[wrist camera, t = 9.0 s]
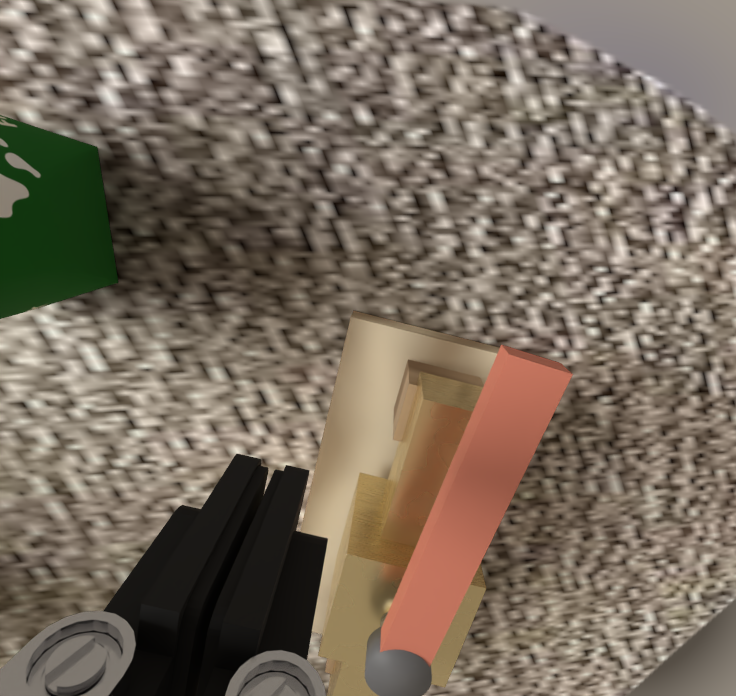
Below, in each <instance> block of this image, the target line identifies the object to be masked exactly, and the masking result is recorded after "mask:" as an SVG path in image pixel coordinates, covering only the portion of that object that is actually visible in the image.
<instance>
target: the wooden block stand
mask: <svg viewBox="0 0 736 696" xmlns="http://www.w3.org/2000/svg"><path fill="white" fill-rule="evenodd" d="M417 384H418V386H417V390H416V393H415V396H414V400H413V403H412V406H411V410H410V413H409V416H408V420H407V423H406V426H405V430H404V433H403V437H402V440H401V442H399V444H398V447H397V450H396V454H395V457H394V461H393V464H392V467H391V471H390V474H389V477H388V479H385V478H381V477H377V476H373V475H369V474H365V473H361V472H360V473H359V477H358V480H357V484H356V488H355V491H354V495H353V499H352V502H351V506H350V510H349V513H348V517H347V521H346V524H345V528H344V532H343V535H342V539H341V543H340V546H339V550H338V554H337V557H336V563H335V568H334V573H333V579H332V584H331V590H330V595H329V600H328V606H327V611H326V617H325V622H324V627H323V633H322V638H321V644H320V649H319V654H318V656H321V657H325V658H329V659H333V660H335V664H334V667H333V670H332V674H330V681H329V688H328V694H327V696H379V695H377V694H376V693H374V692H373V691H372V690H371V689H370V688H369V686H368V685H367V683H366V680H365V663H366V650H367V641H368V638H369V636H370V635H371V634H372V633H373V632H374V631H375V630H376V629H378V628H379V627H382V626H383V623H384V621H385V618H386V616H387V614H388V611H389V609H390V607H391V604H392V602H393V600H394V597H395V595H396V592H397V590H398V588H399V585H400V583H401V581H402V578H403V576H404V574H405V571H406V569H407V566H408V564H409V562H410V559H411V557H412V555H413V552H414V550H415V548H416V545H417V543H418V540H419V538H420V536H421V533H422V531H423V529H424V526H425V524H426V522H427V519H428V517H429V514H430V512H431V510H432V507H433V505H434V503H435V500H436V498H437V496H438V493H439V491H440V488H441V486H442V484H443V481H444V479H445V477H446V474H447V472H448V470H449V467H450V465H451V462H452V460H453V458H454V455H455V453H456V451H457V448H458V446H459V444H460V441H461V439H462V436H463V434H464V432H465V429H466V427H467V425H468V422H469V420H470V418H471V415H472V413H473V410H474V408H475V406H476V403H477V401H478V399H479V396H480V394H481V392H482V389H483V387H480V386H476V385H472V384H468V383H464V382H460V381H456V380H452V379H448V378H444V377H440V376H436V375H432V374H428V373H424V372H420V373H419V377H418V380H417ZM485 591H486V585H485V581H484V576H483V572H482V568H481V563H480V565H479V567H478V569H477V571H476V573H475V575H474V577H473V580H472V582H471V584H470V586H469V588H468V590H467V592H466V594H465V596H464V598H463V600H462V602H461V604H460V606H459V608H458V610H457V612H456V614H455V616H454V618H453V620H452V622H451V625H450V627H449V629H448V631H447V633H446V635H445V637H444V639H443V641H442V643H441V645H440V647H439V649H438V651H437V653H436V655H435V657H434V659H433V661H432V663H431V672H432V682H431V684H433V685H437V686H441V687H445V686H446V684H447V682H448V679H449V677H450V674H451V672H452V670H453V667H454V665H455V662H456V660H457V658H458V655H459V653H460V650H461V648H462V646H463V643H464V641H465V638H466V636H467V634H468V631H469V629H470V627H471V624H472V622H473V619H474V617H475V615H476V612H477V610H478V607H479V605H480V603H481V600H482V598H483V595H484V593H485Z"/></svg>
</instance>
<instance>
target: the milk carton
mask: <svg viewBox="0 0 736 696" xmlns="http://www.w3.org/2000/svg"><path fill="white" fill-rule="evenodd" d="M116 283H118V277H117V271H116V264H115V258H114V251H113V245H112V238H111V232H110V226H109V219H108V213H107V206H106V200H105V194H104V187H103V181H102V174H101V168H100V161H99V155H98V149H97V147H96V146H93V145H89V144H86V143H83V142H80V141H77V140H74V139H71V138H68V137H65V136H62V135H59V134H56V133H53V132H50V131H47V130H44V129H41V128H38V127H35V126H32V125H28V124H25V123H22V122H19V121H16V120H13V119H10V118H7V117H4V116H1V115H0V319H1V318H5V317H9V316H12V315H16V314H20V313H23V312H27V311H30V310H33V309H37V308H40V307H43V306H46V305H49V304H52V303H56V302H59V301H62V300H65V299H68V298H71V297H74V296H78V295H81V294H84V293H87V292H90V291H93V290H96V289H100V288H103V287H106V286H109V285H112V284H116Z"/></svg>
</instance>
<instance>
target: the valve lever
mask: <svg viewBox="0 0 736 696" xmlns="http://www.w3.org/2000/svg"><path fill="white" fill-rule="evenodd" d="M572 375H573V374H572V373H571V372H570V371H568V370H567V369H566V368H565V367H564V366H563V365H562V364H561V363H558V362H555V361H552V360H549V359H545V358H542V357H539V356H536V355H533V354H530V353H527V352H523V351H520V350H517V349H514V348H511V347H508V346H504V345H501V347H500V349H499V351H498V354H497V356H496V358H495V361H494V363H493V365H492V368H491V370H490V373H489V375H488V377H487V380H486V382H485V384H484V387H483V389H482V392H481V394H480V396H479V399H478V401H477V403H476V406H475V408H474V410H473V413H472V415H471V418H470V420H469V422H468V425H467V427H466V429H465V432H464V434H463V436H462V439H461V441H460V444H459V446H458V448H457V451H456V453H455V455H454V458H453V460H452V462H451V465H450V467H449V470H448V472H447V474H446V477H445V479H444V481H443V484H442V486H441V488H440V491H439V493H438V496H437V498H436V500H435V503H434V505H433V507H432V510H431V512H430V514H429V517H428V519H427V522H426V524H425V526H424V529H423V531H422V533H421V536H420V538H419V540H418V543H417V545H416V548H415V550H414V552H413V555H412V557H411V559H410V562H409V564H408V566H407V569H406V571H405V574H404V576H403V578H402V581H401V583H400V585H399V588H398V590H397V592H396V595H395V597H394V600H393V602H392V604H391V607H390V609H389V611H388V614H387V616H386V618H385V621H384V623H383V626H382V627H379V628H378V629H376V630H375V631H374V632H373V633H372V634H371V635H370V636H369V638H368V641H367V650H366V663H365V680H366V683H367V685H368V686H369V688H370V689H371V690H372V691H373V692H374V693H376V694H377V695H379V696H422V695H423V694H424V693H426V692H427V690H428V689H429V687H430V685H431V682H432V672H431V663H432V661H433V659H434V657H435V655H436V653H437V651H438V649H439V647H440V645H441V643H442V641H443V639H444V637H445V635H446V633H447V631H448V629H449V627H450V625H451V622H452V620H453V618H454V616H455V614H456V612H457V610H458V608H459V606H460V604H461V602H462V600H463V598H464V596H465V594H466V592H467V590H468V588H469V586H470V584H471V582H472V580H473V577H474V575H475V573H476V571H477V569H478V567H479V565H480V563H481V561H482V559H483V557H484V555H485V553H486V551H487V549H488V547H489V545H490V543H491V541H492V539H493V537H494V535H495V532H496V530H497V528H498V526H499V524H500V522H501V520H502V518H503V516H504V514H505V512H506V510H507V508H508V506H509V504H510V502H511V500H512V498H513V496H514V494H515V492H516V489H517V487H518V485H519V483H520V481H521V479H522V477H523V475H524V473H525V471H526V469H527V467H528V465H529V463H530V461H531V459H532V457H533V455H534V453H535V451H536V449H537V447H538V444H539V442H540V440H541V438H542V436H543V434H544V432H545V430H546V428H547V426H548V424H549V422H550V420H551V418H552V416H553V414H554V412H555V410H556V408H557V406H558V404H559V401H560V399H561V397H562V395H563V393H564V391H565V389H566V387H567V385H568V383H569V381H570V379H571V377H572Z"/></svg>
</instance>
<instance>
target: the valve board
mask: <svg viewBox="0 0 736 696" xmlns="http://www.w3.org/2000/svg"><path fill="white" fill-rule="evenodd" d="M499 349H500V348H499V347H496V346H492V345H488V344H484V343H480V342H476V341H472V340H468V339H464V338H460V337H456V336H452V335H448V334H444V333H440V332H436V331H432V330H428V329H424V328H420V327H416V326H412V325H408V324H404V323H400V322H396V321H392V320H388V319H384V318H381V317H377V316H373V315H369V314H365V313H361V312H357V311H353V313H352V315H351V318H350V322H349V327H348V331H347V335H346V339H345V344H344V348H343V352H342V356H341V361H340V365H339V369H338V373H337V378H336V382H335V386H334V390H333V395H332V399H331V403H330V408H329V412H328V416H327V420H326V425H325V429H324V433H323V437H322V442H321V446H320V450H319V454H318V459H317V463H316V467H315V471H314V476H313V480H312V484H311V488H310V493H309V497H308V501H307V506H306V510H305V514H304V518H303V523H302V527H301V531H300V532H302V533H307V534H311V535H315V536H320V537H324V538H328V543H327V549H326V554H325V560H324V565H323V571H322V577H321V582H320V588H319V593H318V599H317V605H316V610H315V616H314V621H313V627H312V632H315V633H319V634H322V633H323V627H324V622H325V617H326V611H327V606H328V600H329V595H330V590H331V584H332V579H333V573H334V568H335V563H336V557H337V554H338V550H339V546H340V543H341V539H342V535H343V532H344V528H345V524H346V521H347V517H348V513H349V510H350V506H351V502H352V499H353V495H354V491H355V488H356V484H357V480H358V477H359V473H360V472H361V473H365V474H369V475H373V476H377V477H381V478H385V479H388V477H389V474H390V471H391V467H392V464H393V461H394V457H395V454H396V450H397V447H398V444H399V442H401V440H402V437H403V433H404V430H405V426H406V423H407V420H408V416H409V413H410V410H411V406H412V403H413V400H414V396H415V393H416V390H417V386H418V384H417V380H418V377H419V373H420V372H424V373H428V374H432V375H436V376H440V377H444V378H448V379H452V380H456V381H460V382H464V383H468V384H472V385H476V386H480V387H484V384H485V382H486V380H487V377H488V375H489V373H490V370H491V368H492V365H493V363H494V361H495V358H496V356H497V354H498V351H499ZM334 664H335V660H333V659H329V658H327V662H326V669H325V673H329V674H332V670H333V667H334Z"/></svg>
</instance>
